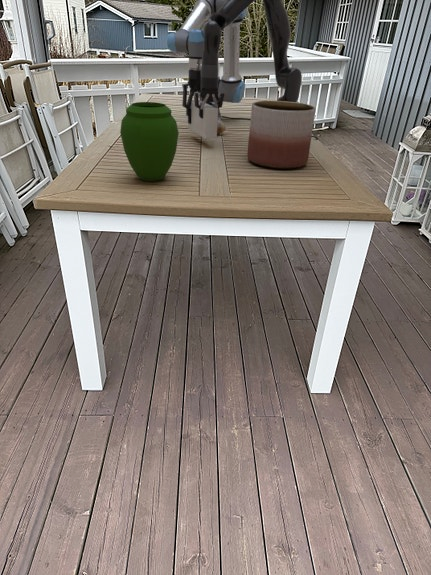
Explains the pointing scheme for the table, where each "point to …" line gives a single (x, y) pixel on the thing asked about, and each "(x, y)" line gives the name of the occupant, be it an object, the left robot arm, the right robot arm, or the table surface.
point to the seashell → (220, 126)
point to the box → (204, 121)
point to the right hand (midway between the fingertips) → (208, 117)
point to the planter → (280, 134)
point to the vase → (149, 139)
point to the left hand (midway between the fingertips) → (195, 122)
